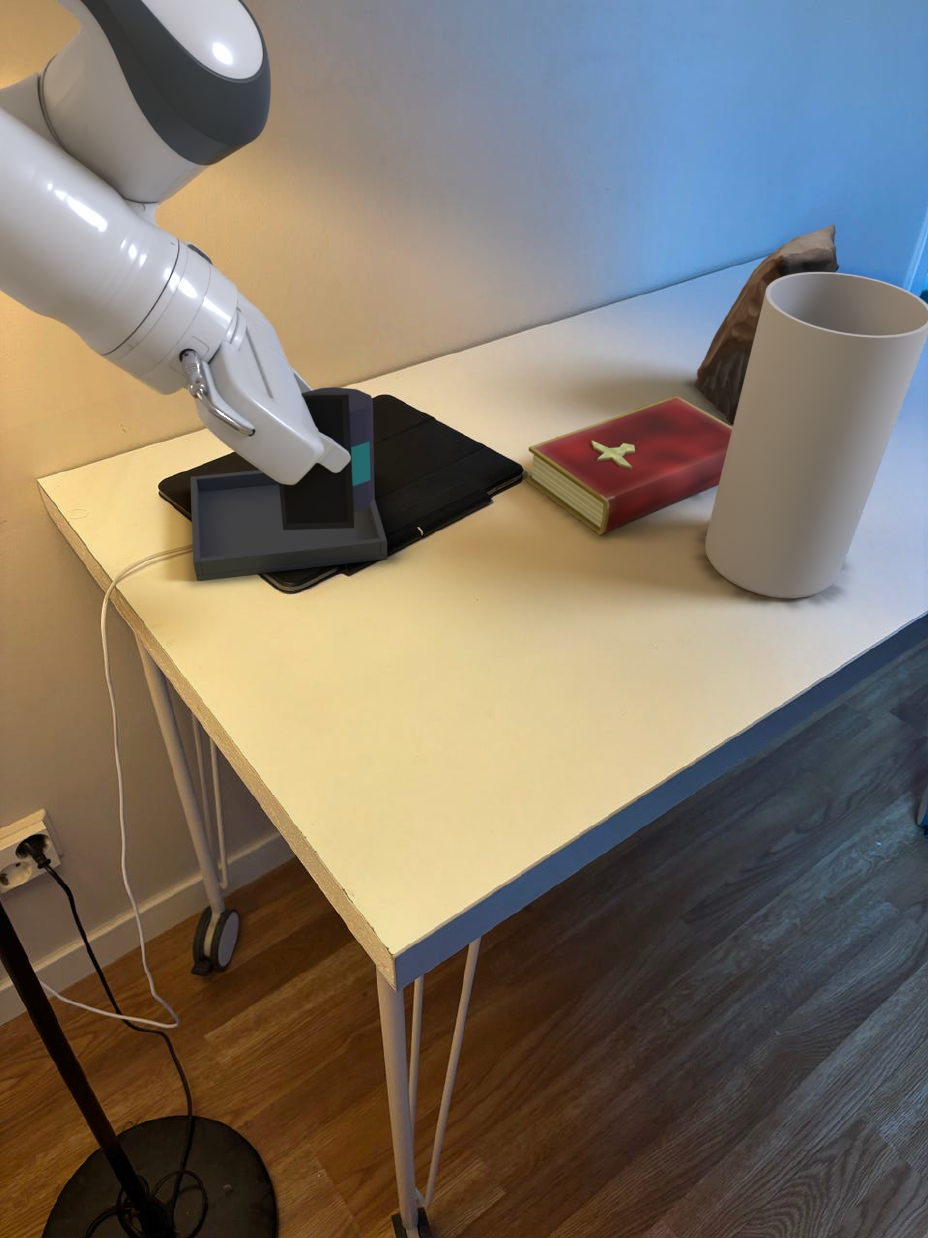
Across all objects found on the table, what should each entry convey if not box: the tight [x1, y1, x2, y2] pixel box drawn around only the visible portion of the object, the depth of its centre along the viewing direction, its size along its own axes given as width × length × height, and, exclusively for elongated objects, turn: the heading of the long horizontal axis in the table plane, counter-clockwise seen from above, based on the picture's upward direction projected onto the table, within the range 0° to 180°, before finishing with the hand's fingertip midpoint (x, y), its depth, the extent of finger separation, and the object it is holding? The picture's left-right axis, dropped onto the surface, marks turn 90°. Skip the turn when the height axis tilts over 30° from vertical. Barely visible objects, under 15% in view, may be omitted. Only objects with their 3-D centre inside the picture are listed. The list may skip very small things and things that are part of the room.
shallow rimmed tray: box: [190, 469, 388, 582], centre depth 91 cm, size 17×14×2 cm
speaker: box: [279, 386, 376, 530], centre depth 70 cm, size 8×6×10 cm
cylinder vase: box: [704, 272, 928, 599], centre depth 82 cm, size 12×12×25 cm
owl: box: [693, 224, 840, 425], centre depth 106 cm, size 13×13×20 cm
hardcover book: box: [525, 394, 733, 536], centre depth 99 cm, size 12×21×4 cm, turn 125°
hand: (331, 435), depth 71 cm, fingers closed on speaker, 6 cm apart
